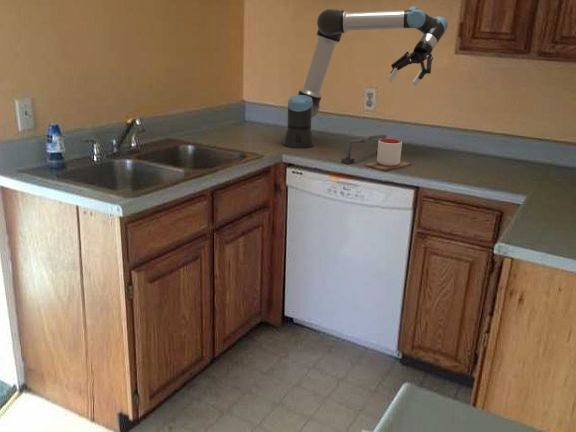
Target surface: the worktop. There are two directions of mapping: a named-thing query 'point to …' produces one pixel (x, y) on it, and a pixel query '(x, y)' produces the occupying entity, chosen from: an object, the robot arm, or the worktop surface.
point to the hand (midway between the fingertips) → (401, 82)
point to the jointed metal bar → (348, 152)
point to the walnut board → (387, 168)
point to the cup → (389, 152)
